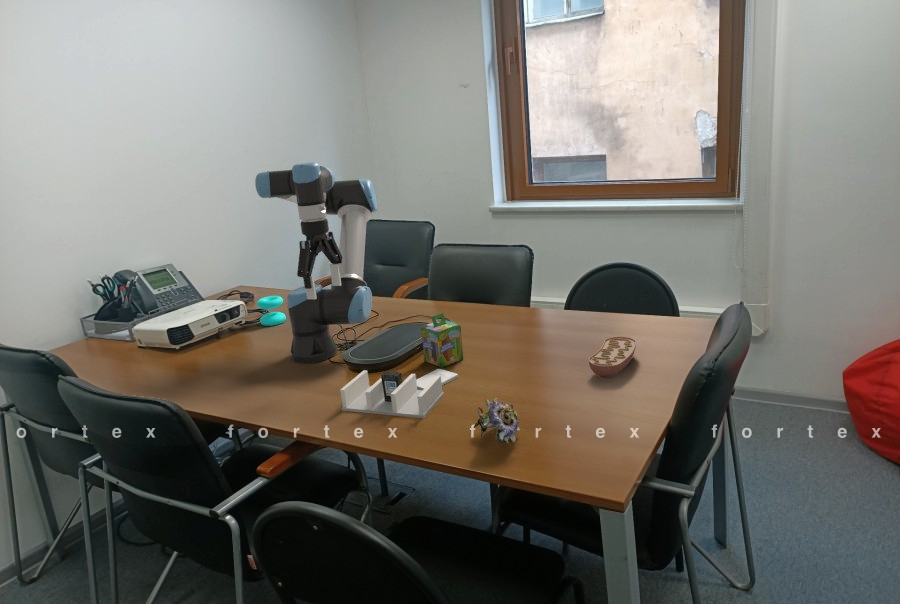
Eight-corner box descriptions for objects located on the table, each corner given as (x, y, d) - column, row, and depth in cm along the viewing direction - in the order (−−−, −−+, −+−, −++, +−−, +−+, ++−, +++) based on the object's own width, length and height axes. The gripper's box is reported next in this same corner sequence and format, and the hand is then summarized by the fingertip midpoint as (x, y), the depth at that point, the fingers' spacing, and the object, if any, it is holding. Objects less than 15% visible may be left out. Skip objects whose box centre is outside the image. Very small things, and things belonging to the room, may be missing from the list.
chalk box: (441, 368, 190) (436, 322, 186) (423, 361, 197) (418, 316, 193) (464, 359, 195) (460, 313, 191) (446, 352, 202) (441, 308, 198)
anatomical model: (609, 350, 192) (609, 335, 190) (642, 354, 187) (642, 338, 185) (584, 380, 173) (584, 363, 172) (620, 385, 168) (620, 368, 167)
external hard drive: (408, 388, 180) (438, 372, 188) (428, 395, 174) (458, 378, 183) (407, 383, 179) (437, 367, 188) (428, 389, 174) (458, 373, 182)
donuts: (262, 303, 241) (252, 299, 249) (267, 328, 244) (256, 323, 252) (286, 297, 247) (275, 293, 255) (290, 321, 250) (279, 317, 258)
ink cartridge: (384, 401, 170) (380, 374, 168) (388, 398, 172) (384, 370, 170) (401, 402, 168) (397, 375, 166) (404, 399, 170) (400, 371, 168)
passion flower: (513, 462, 147) (511, 440, 137) (468, 450, 150) (463, 428, 140) (525, 419, 153) (524, 395, 143) (481, 409, 156) (478, 385, 146)
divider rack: (366, 388, 181) (363, 369, 180) (444, 394, 172) (442, 375, 171) (341, 410, 169) (338, 390, 167) (424, 418, 160) (421, 397, 158)
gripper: (299, 227, 165) (312, 305, 171) (347, 211, 187) (357, 280, 193) (275, 228, 168) (289, 304, 174) (325, 212, 190) (335, 280, 196)
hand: (324, 292), depth 184 cm, fingers open, 13 cm apart
